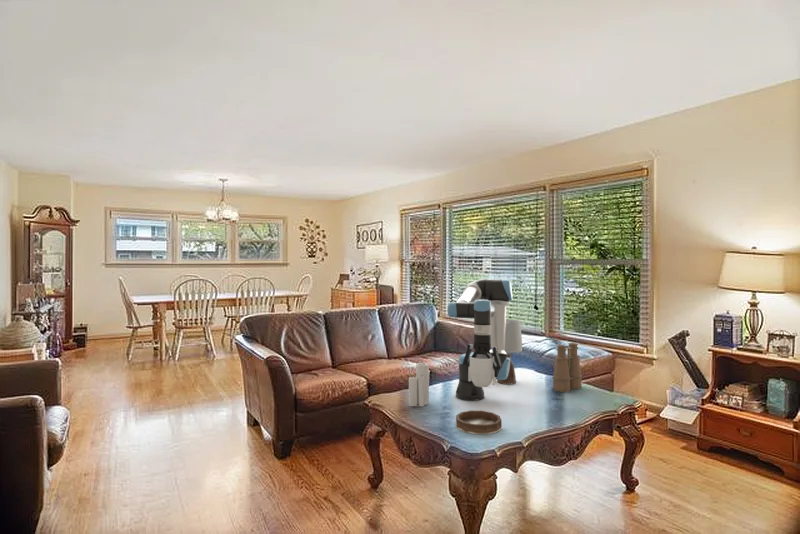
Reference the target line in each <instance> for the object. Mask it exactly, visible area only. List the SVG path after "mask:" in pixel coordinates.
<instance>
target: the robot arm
mask: <svg viewBox="0 0 800 534" xmlns="http://www.w3.org/2000/svg"><path fill="white" fill-rule="evenodd" d="M512 288H513V287H512V283H511V281H510V280H509V279H505V278H480V279H476V280H474V281H472V282H470V283H469V284H468V285H466V286H465V288H464V290H463V294H461V296H460V297H459V298H458V300H457V301H456V302H455V301H452V302H449V303H448V304H447V315H448V317H449V318H455V319H473V321H474V322H473V333H474V334H473V344H472V343H468V344H466V345H467V346H466V347H467V348H466V352H465V353H462V354H461V355H460V356H459V359H458V385H457V387H456V391H455V397H456V398H457V399H460V400H462V401H479V400H483V399H484V398H485V392H484V389H483V388H484V387H477V386H475V385H474V384H473V382H472V379H471V375H470V356H471V355H472V358H476V356H477V355H478V354H479V355H480V354H482V355H486V357H487V358H488V359H490V358H493V357H494V362H493V368H494V370H493V371H492V382H491V384H492V385H493V386H495V385H496V384H497V380H505V379H506V378H507V377H508V374H509V369H510V358H507V353H506V352H505V330H506V319H507V307H508V306H509V305H510V302H511V301H513V289H512ZM473 349H474V352H473V351H472V350H473ZM492 356H493V357H492Z"/></svg>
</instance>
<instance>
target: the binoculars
mask: <svg viewBox="0 0 800 534" xmlns="http://www.w3.org/2000/svg"><path fill="white" fill-rule="evenodd" d="M578 345H579V343H578V342H577V343H576V342H568V347H567V345H566V344H557V345H556V347H557V348H556V351H557V352H556V353H557V356H556V357H555V358H554V359H555V363H554V368H553V369H554V370H553V376H552V377H551V379H552V390H553V391H556V392H559V391H560V392H561V393H566V392H567V393H568V392H571V389H572V390H575V389H576V390H579V389H582V378H583V375H582V370H581V364H580V356H579V355H578V349H579V347H578ZM566 352H567V353H566Z"/></svg>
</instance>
